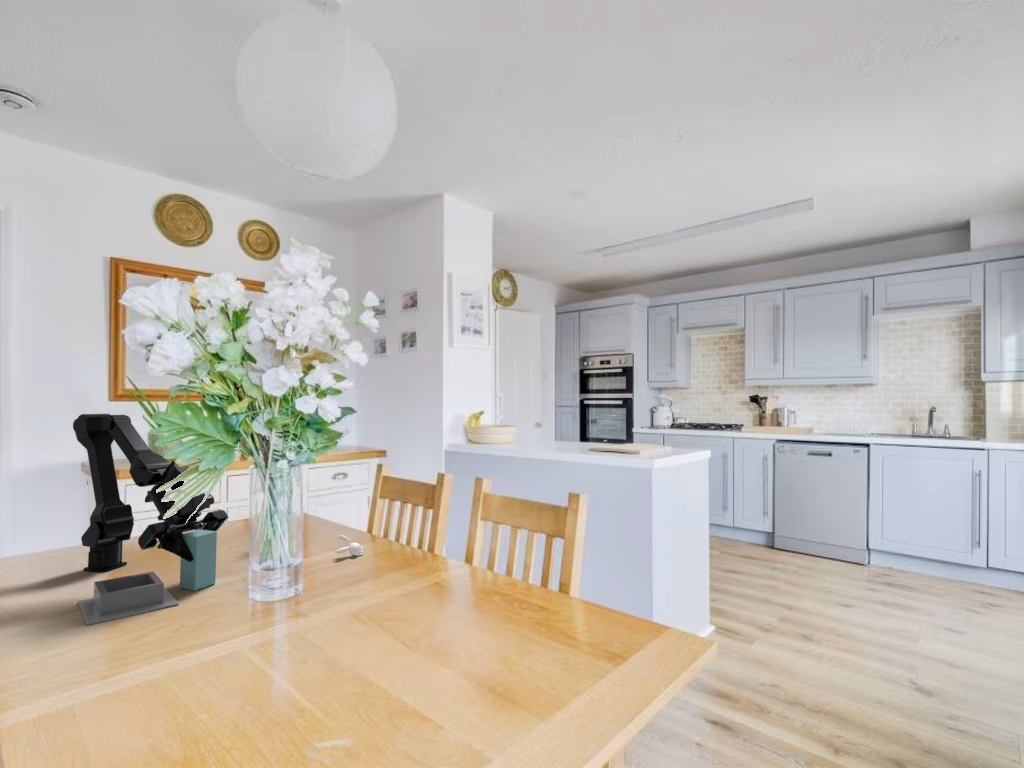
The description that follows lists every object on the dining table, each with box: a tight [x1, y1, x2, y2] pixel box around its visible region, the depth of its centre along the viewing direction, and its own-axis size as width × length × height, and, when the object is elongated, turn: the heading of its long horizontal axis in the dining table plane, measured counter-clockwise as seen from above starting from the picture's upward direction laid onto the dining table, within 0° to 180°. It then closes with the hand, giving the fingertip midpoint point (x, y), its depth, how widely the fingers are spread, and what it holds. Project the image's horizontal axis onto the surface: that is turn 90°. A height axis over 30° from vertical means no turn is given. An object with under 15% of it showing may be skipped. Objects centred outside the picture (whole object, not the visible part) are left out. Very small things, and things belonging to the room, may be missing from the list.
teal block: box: [179, 529, 218, 592], centre depth 122 cm, size 5×5×12 cm
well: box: [77, 571, 179, 626], centre depth 111 cm, size 15×15×4 cm
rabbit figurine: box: [336, 534, 364, 556], centre depth 147 cm, size 6×4×8 cm
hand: (202, 557), depth 122 cm, fingers closed on teal block, 5 cm apart
